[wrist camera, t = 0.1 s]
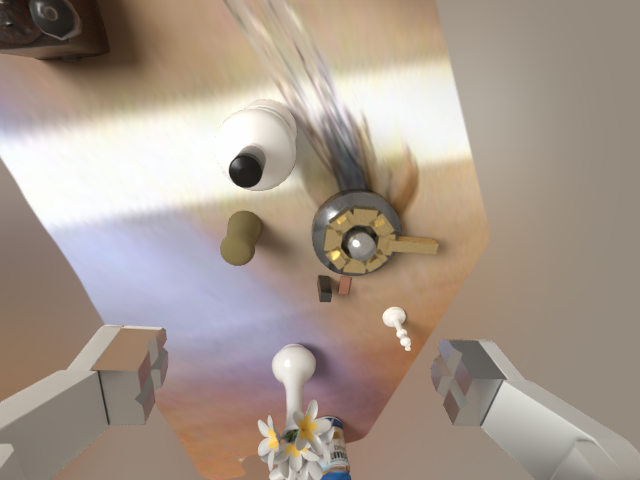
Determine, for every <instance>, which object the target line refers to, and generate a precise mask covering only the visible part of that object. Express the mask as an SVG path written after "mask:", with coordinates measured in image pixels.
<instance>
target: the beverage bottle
mask: <svg viewBox="0 0 640 480" xmlns="http://www.w3.org/2000/svg"><path fill="white" fill-rule="evenodd" d="M321 418H325V419H328V420H329V421H330V422H331V420H332V419H333V417H332V416H325V417H321ZM318 419H319V418H318ZM333 426H334V434H333V437H332V439H331V441H330V443H329V449H330V453H333V454H334V455H333V457H332V458H331V459H330V465H329V464H327V465H328V466H327V467H326V463H325V462H324V463H319V462H318V463H319V464H320V466H321V467H322V469H323V476H322V478H321V479H320V480H351V476H350V475H349V472H350V465H349V462H348V458H347V452H346V446H345V440H344V434H343V426H342V423H341V421H340V420H339V419H337V418H335V417H334V420H333V423H332V426H331V428H332V427H333ZM314 434H315V433H314ZM321 434H322V433H319V434H316V435H318V436H320V435H321ZM312 452H313V453H315V452H314V450H313V449H312Z"/></svg>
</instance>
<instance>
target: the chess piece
mask: <svg viewBox="0 0 640 480" xmlns="http://www.w3.org/2000/svg"><path fill="white" fill-rule="evenodd" d="M405 318H406V315H405V312H404V310H403V309H402V308H400V307H391V308H389V309H387V310H386V311H385V312H384V314H383V321H384V323H385V324H386V325H387V326H389V327H395V328H396V329H397V331H398V332H397V337H399V338H400V343H401V345H402V346H406V347H405V350H406V351H408V350H409V351H410V349H411V348H410V345H411V340H410V338H408V337H407V336H406V335H407V331H406V330H404V329H402V325H401V324H402V323H403V322H404V321H405Z"/></svg>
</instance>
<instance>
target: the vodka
mask: <svg viewBox="0 0 640 480" xmlns="http://www.w3.org/2000/svg"><path fill="white" fill-rule="evenodd" d="M296 137H297V128H296V123H295V120H294V118H293V116H292V114H291V112H290V111H289V110H288V109H287V108H286V107H285V106H284V105H282V104H281V103H279V102H277V101H274V100H270V99H260V100H256V101H254V102H252V103H250V104H249V105H248V106H246V107H245V108H244V109H243V110H240V111H238V112H236V113H234V114H232V115H231V116H230V117H228V118H227V119H226V120H225V121H224V122H223V124H222V125H221V126H220V128H219V130H218V133H217V135H216V141H215V155H216V158H217V161H218V164H219V166H220V168H221V170H222V171H223V173H224V174H225V175H226V176H227V178H228V179H229V180H231V181H232V182H233V183H235V184H236V185H237V186H240V187H242V188H244V189H248V190H252V191H263V190H268V189H272V188H274V187H276V186H278V185H280V184H281V183H282V182H284V181H285V180H286V179H287V177H288V176H289V175H290V174H291V172H292V170H293V168H294V165H295V161H296V144H295V141H296Z"/></svg>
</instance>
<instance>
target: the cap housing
mask: <svg viewBox="0 0 640 480" xmlns="http://www.w3.org/2000/svg"><path fill="white" fill-rule="evenodd" d="M352 205H360V206H370V207H375V208H376V209H377V210H380V211H381V212H382V214H383V215H384V216H385V218H386V219H387V220H388V222H389V223H390V224H391V226H392V227H393V228H394V230H395V231H393V232H394V233H395V234H396V236H401V224H400V220H399V218H398V215H397V213H396V212H395V210H394V209H393V208H392V207H391V205H390V204H389V203H388V202H387V201H386V200H385V199H384V198H383V197H381V196H380V195H378V194H376V193H374V192H372V191H369V190H364V189H350V190H346V191H342V192H340V193H337V194H335V195H334V196H332V197H331V198H329V199H328V200H327V201H326V202H324V203H323V205H322V206H321V207H320V208H319V210H318V211H317V213H316V215H315V217H314V220H313V224H312V241H313V246H314V250H315V252H316V255H317V256H318V258H319V260H320V261H321V262H322V263H323V264H324V265H325V266H326V267H327V268H329V269H330V270H332V271H334V272H336V273H339V274H342V275H348V276H359V275H364V274H368V273H371V272H373V271H375V270H377V269H379V268H381V267H382V266H383V265H385V264H386V263H387V262H388V261H389V260H390V259H391V258H392V256H393V255H394V253H395V252H394V251H392V253H391V255H386V257H387V259H388V260H386V261H385V262H384V263H382V265H381V266H379V267H378V268H376V269H373V270H372V271H371V272H369V271H368V270H367V268H366V270H365V273H350V272H343V270H342V268H341V269H340V270H338V268H337V267H336V266H335V265H334V264H333V263H332V262H331V261H330V260H329V258H328V257H327V256H326V255H325V251H324V248H323V241H324V234H325V227H326V225H330V224H329V220H330V219H331V218H332V217H334V216H335V215H336V214H338V213H339V212H340V211H342V210H343V209H344V208H346V207H348V208H349V209H350V211H351V209H352ZM375 237H376V232H375V231H374V230H373V228H372V227H371V226H364V225H355V226H353V227H352V228H350V229H349V230H348V231H346V232H345V233H344V234H343V236H342V242H341V246H342V247H343V249H344V250H345V251H346V252H347V253H350V254H351V256H352V257H353V258H354V259H355V260H357V261H367V260H369V259H371V258H372V257H373V256H374V254H375V252H376V244H375ZM350 280H351V277H343V276H341V279H340V285H339V290H338V294H345V295H348V291H349V286H350ZM317 286H318V293H319V299H320V302H331V297H332V290H331V286H330V281H329V276H319V275H318V282H317Z"/></svg>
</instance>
